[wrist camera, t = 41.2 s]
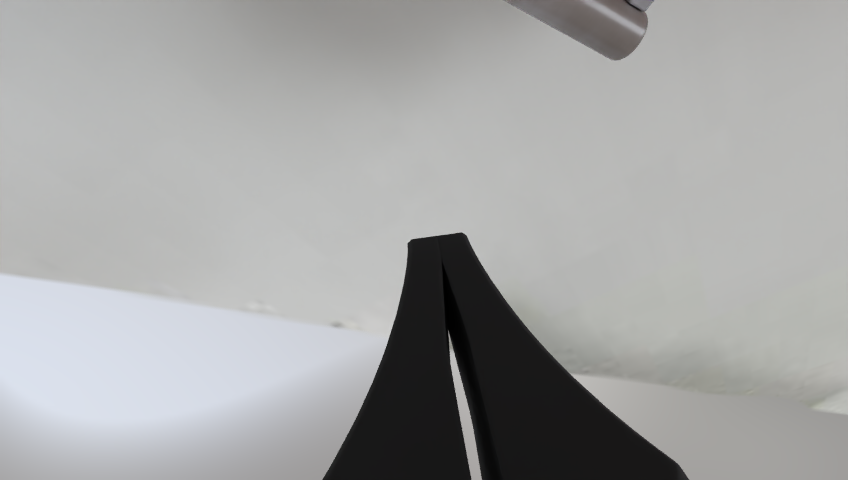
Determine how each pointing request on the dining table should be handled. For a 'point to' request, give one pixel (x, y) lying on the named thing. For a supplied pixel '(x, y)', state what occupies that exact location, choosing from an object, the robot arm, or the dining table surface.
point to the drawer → (594, 22)
